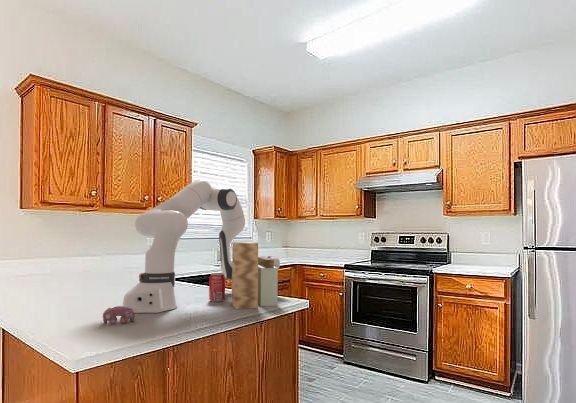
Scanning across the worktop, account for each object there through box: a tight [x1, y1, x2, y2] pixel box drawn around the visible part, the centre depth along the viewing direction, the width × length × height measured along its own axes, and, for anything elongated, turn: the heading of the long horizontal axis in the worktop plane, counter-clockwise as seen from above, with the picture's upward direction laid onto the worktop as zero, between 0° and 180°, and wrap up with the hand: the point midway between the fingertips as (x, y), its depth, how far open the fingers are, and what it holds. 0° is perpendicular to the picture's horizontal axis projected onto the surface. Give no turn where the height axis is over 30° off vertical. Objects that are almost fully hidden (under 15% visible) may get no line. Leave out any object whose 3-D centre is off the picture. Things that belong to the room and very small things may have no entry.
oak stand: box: [231, 241, 259, 310], centre depth 165 cm, size 9×12×26 cm
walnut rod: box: [258, 256, 274, 268], centre depth 175 cm, size 3×22×3 cm, turn 15°
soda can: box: [208, 272, 226, 303], centre depth 175 cm, size 7×7×12 cm
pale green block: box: [258, 265, 279, 307], centre depth 172 cm, size 7×16×16 cm, turn 15°
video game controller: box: [102, 305, 136, 325], centre depth 132 cm, size 10×5×7 cm, turn 108°
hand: (261, 257), depth 183 cm, fingers open, 7 cm apart
